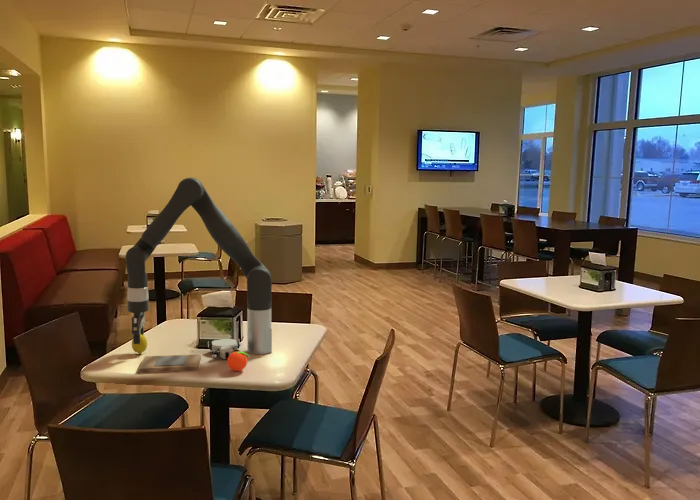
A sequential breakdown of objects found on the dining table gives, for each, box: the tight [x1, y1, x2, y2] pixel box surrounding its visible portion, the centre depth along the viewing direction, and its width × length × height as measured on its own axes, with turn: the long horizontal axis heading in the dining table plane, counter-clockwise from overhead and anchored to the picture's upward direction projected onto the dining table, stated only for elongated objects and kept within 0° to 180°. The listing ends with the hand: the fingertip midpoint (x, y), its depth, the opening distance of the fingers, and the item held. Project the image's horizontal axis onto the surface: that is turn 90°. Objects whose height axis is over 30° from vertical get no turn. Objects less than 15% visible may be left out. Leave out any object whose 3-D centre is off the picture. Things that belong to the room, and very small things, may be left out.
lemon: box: [131, 334, 148, 355], centre depth 226 cm, size 6×6×8 cm
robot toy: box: [207, 338, 241, 360], centre depth 227 cm, size 12×4×15 cm
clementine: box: [226, 350, 251, 372], centre depth 209 cm, size 8×7×7 cm
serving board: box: [138, 353, 202, 374], centre depth 214 cm, size 20×14×2 cm
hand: (138, 340), depth 226 cm, fingers open, 8 cm apart
